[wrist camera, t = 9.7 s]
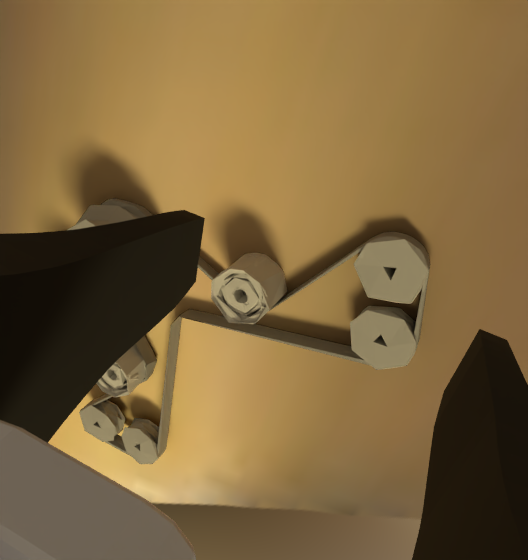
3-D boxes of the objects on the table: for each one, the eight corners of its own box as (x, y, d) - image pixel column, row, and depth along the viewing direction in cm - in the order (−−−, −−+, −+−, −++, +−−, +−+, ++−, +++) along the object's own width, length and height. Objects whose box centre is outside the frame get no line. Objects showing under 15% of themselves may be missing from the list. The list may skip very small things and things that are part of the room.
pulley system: (15, 296, 37) (139, 457, 38) (-44, 327, 33) (97, 504, 34) (291, 29, 21) (481, 315, 23) (240, 28, 17) (473, 372, 19)
